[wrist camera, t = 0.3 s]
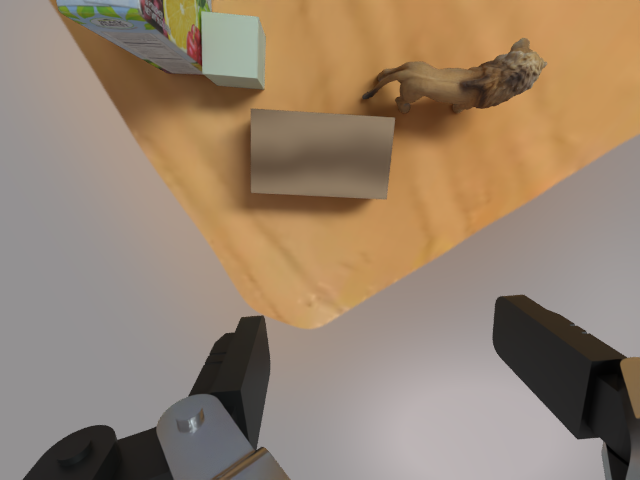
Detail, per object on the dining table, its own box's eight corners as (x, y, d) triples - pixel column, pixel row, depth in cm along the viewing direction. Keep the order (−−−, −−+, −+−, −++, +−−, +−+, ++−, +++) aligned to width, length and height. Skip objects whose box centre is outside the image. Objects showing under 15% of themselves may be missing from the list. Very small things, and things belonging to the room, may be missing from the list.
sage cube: (217, 33, 32) (201, 11, 28) (265, 37, 33) (258, 16, 28) (217, 85, 34) (202, 73, 29) (264, 89, 34) (257, 78, 29)
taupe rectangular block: (258, 115, 35) (250, 108, 30) (383, 123, 35) (395, 117, 31) (258, 188, 37) (250, 192, 32) (376, 194, 37) (386, 199, 33)
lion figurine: (494, 59, 34) (558, 25, 25) (492, 111, 35) (553, 96, 27) (360, 74, 34) (377, 44, 25) (363, 125, 35) (381, 115, 26)
